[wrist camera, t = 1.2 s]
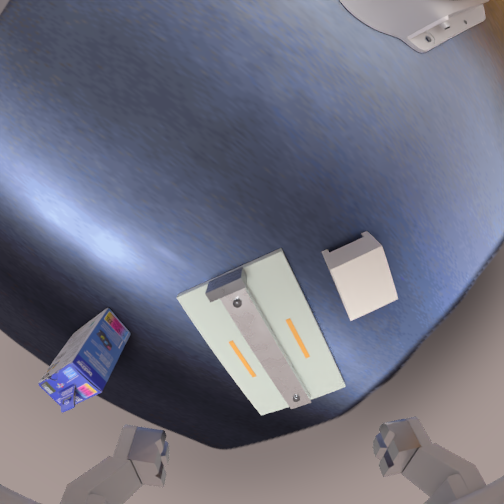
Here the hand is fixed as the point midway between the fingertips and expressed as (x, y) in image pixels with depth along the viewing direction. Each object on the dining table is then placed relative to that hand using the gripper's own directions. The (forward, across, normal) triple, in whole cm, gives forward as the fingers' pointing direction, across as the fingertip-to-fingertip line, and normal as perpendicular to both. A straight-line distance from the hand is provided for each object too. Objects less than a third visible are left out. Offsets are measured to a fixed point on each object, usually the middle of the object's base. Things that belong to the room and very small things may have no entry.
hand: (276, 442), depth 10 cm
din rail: (+27, -3, +15) cm, 30 cm away
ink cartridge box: (+29, +22, +16) cm, 40 cm away
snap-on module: (+27, -12, +3) cm, 30 cm away
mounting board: (+28, -3, +15) cm, 32 cm away
